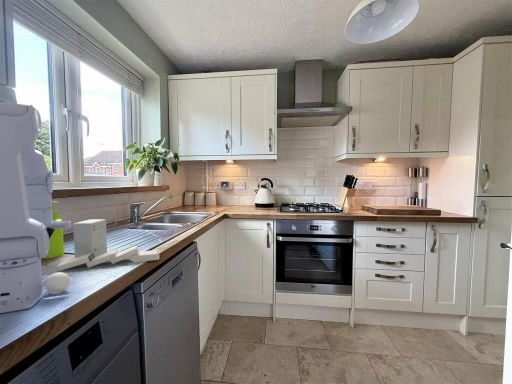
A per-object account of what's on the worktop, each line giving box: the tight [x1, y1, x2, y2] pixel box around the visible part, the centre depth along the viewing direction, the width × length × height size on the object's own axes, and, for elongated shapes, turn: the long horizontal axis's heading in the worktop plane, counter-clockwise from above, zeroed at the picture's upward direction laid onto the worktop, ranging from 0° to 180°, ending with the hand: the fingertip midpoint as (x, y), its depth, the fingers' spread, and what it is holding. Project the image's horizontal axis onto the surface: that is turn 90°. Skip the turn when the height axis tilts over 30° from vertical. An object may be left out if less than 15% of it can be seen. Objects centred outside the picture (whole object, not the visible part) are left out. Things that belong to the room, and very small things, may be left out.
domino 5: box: [132, 254, 160, 264], centre depth 80 cm, size 5×2×8 cm
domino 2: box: [86, 248, 119, 268], centre depth 75 cm, size 5×2×8 cm
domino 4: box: [129, 249, 158, 262], centre depth 80 cm, size 5×2×8 cm
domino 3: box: [111, 245, 139, 264], centre depth 78 cm, size 5×2×8 cm
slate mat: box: [41, 257, 131, 277], centre depth 73 cm, size 9×24×1 cm, turn 111°
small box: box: [72, 218, 108, 258], centre depth 83 cm, size 8×6×13 cm
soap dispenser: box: [43, 200, 65, 259], centre depth 83 cm, size 6×7×20 cm
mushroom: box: [42, 272, 71, 296], centre depth 56 cm, size 5×5×5 cm
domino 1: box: [57, 252, 95, 271], centre depth 72 cm, size 5×2×8 cm
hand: (41, 253), depth 69 cm, fingers closed
